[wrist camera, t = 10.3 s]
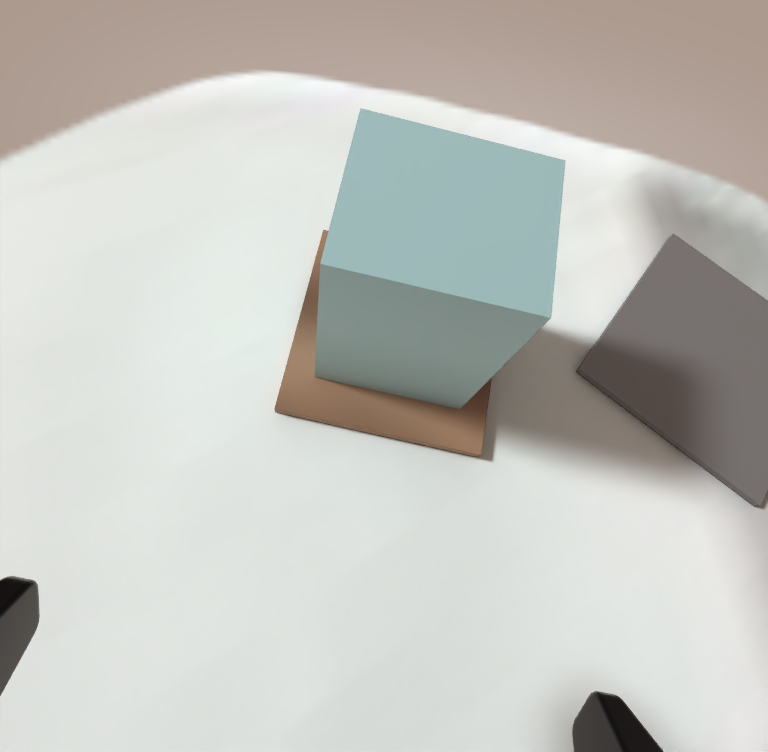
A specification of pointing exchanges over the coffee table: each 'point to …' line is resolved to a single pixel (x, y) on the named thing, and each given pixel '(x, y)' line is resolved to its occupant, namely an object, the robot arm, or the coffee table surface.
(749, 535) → the coffee table surface
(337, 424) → the coaster
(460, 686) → the coffee table surface
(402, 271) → the pale teal block
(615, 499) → the coffee table surface
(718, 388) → the mat
